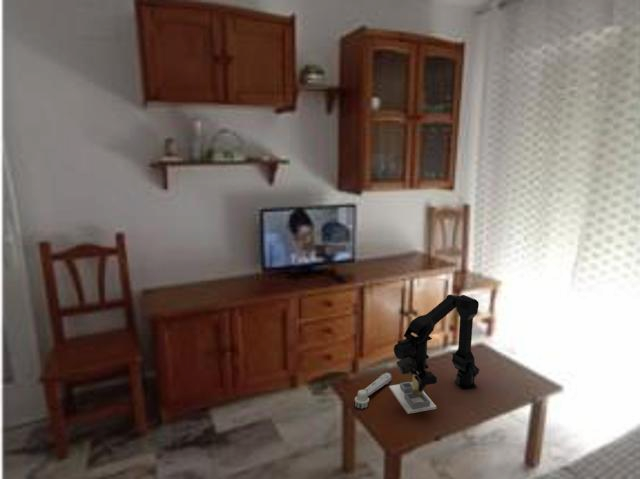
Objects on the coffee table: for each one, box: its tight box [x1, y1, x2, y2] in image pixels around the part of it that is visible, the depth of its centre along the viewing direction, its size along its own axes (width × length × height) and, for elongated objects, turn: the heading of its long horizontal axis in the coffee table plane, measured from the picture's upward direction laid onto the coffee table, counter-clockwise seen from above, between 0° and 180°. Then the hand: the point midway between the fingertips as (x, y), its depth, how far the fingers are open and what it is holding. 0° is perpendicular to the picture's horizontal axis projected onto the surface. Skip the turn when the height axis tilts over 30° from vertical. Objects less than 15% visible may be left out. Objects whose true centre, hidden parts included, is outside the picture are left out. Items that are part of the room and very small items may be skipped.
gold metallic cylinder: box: [412, 372, 424, 396], centre depth 172 cm, size 4×4×8 cm
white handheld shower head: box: [354, 372, 393, 409], centre depth 181 cm, size 5×7×25 cm
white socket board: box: [388, 381, 437, 415], centre depth 178 cm, size 12×18×3 cm, turn 14°
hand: (417, 388), depth 172 cm, fingers closed on gold metallic cylinder, 4 cm apart
